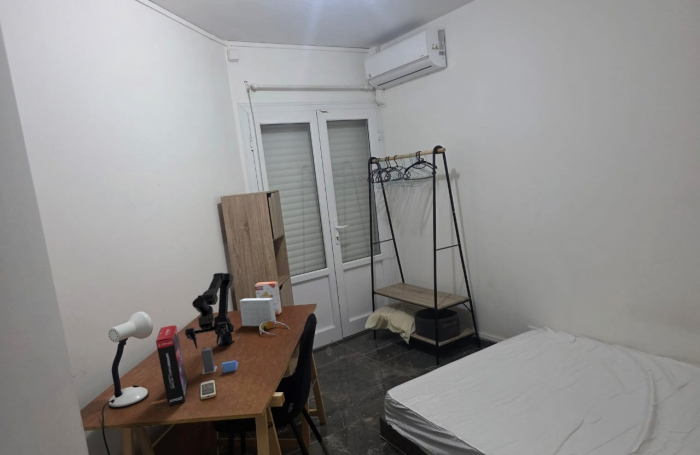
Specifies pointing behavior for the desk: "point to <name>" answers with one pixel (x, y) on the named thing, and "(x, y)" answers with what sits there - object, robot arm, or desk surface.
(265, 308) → the skincare box
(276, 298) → the cracker box
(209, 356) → the tall grey square pillar
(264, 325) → the sunglasses
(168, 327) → the graphics card box
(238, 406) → the desk surface
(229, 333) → the robot arm
